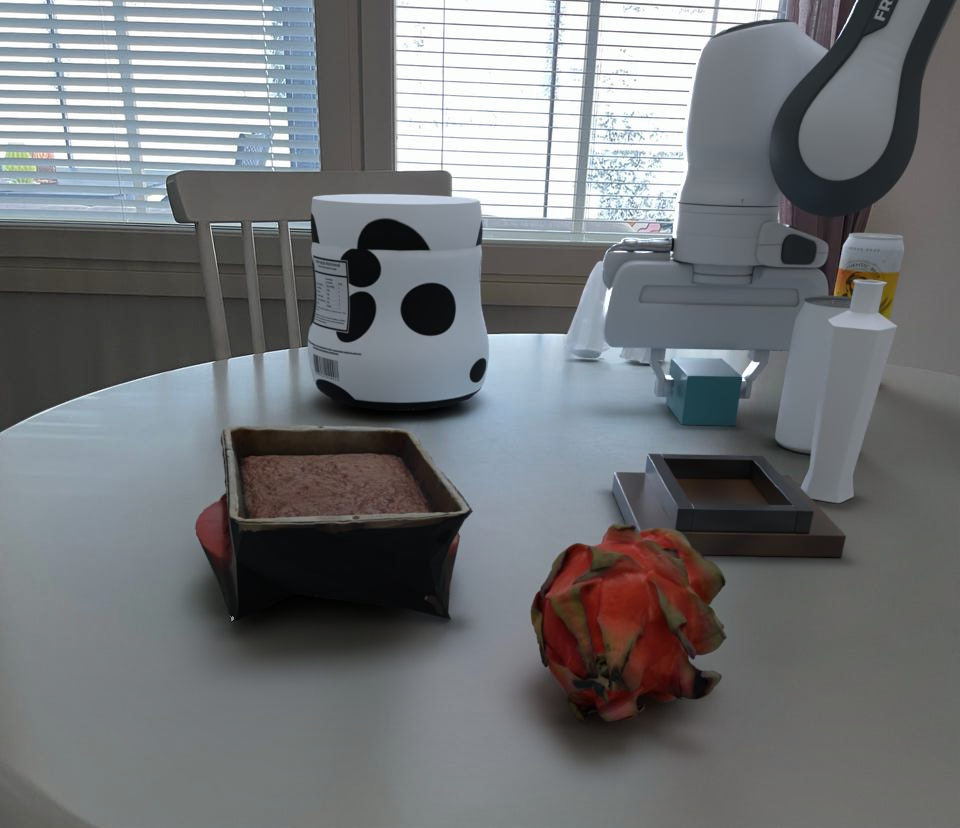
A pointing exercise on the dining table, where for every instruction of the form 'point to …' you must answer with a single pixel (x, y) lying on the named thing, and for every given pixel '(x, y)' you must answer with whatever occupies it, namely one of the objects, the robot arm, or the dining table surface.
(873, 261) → the beer can
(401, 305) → the milk container
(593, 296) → the shaker set
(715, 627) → the dragon fruit
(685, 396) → the teal rectangular block
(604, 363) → the dining table surface
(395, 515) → the baking dish
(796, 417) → the can
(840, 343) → the perfume bottle
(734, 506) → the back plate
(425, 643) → the dining table surface
